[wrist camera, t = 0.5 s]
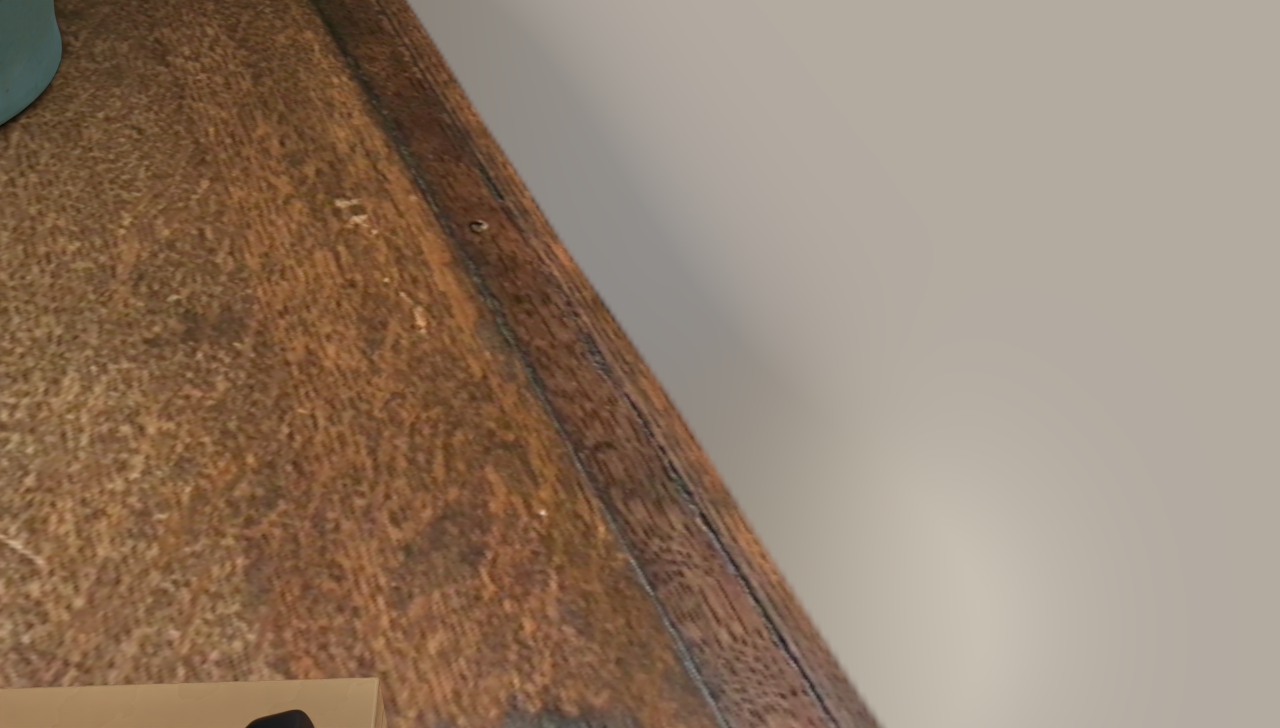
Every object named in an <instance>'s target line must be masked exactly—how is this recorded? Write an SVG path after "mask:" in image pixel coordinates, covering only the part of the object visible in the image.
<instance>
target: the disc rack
mask: <svg viewBox="0 0 1280 728" xmlns="http://www.w3.org/2000/svg"><path fill="white" fill-rule="evenodd" d="M293 709H294V710H297V709H299V710H302V711H303V712H305V713H306V714H307V715H308V717H309V718H310V719H311V721H312V723H313V725H314V727H315V728H387V722H386V717H385V711H384V705H383V699H382V693H381V687H380V682H379V679H378V678H376V677H369V678H336V679H302V680H268V681H234V682H200V683H166V684H133V685H99V686H65V687H31V688H0V728H245V727H246V726H247V725H248V724H249V723H250V722H252V721H253V720H255V719H258V718H260V717H264V716H268V715H273V714H277V713H281V712H285V711H289V710H293Z"/></svg>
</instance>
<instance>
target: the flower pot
mask: <svg viewBox="0 0 1280 728" xmlns="http://www.w3.org/2000/svg"><path fill="white" fill-rule="evenodd" d="M61 54H62V42H61V35H60V32H59V29H58V26H57V22H56V18H55V12H54V0H0V125H1V124H3V123H5V122H6V121H8V120H9V119H11V118H12V117H14V116H15V115H17V114H18V113H20V112H21V111H22V110H23V109H25V108H26V107H27V106H28V105H29V104H31V103H32V102H33V101H34V100H35V99H36V98H37V97H38V96H39V95H40V94H41V93H42V92H43V91H44V89H45V88H46V87H47V86H48V85H49V83H50V82H51V80H52V79H53V77H54V75H55V74H56V71H57V69H58V66H59V63H60V60H61Z"/></svg>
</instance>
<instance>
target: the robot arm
mask: <svg viewBox="0 0 1280 728" xmlns="http://www.w3.org/2000/svg"><path fill="white" fill-rule="evenodd" d="M245 728H315V727H314V725H313V723H312V721H311V719H310V718H309V717H308V715H307V714H306V713H305V712H303V711H302V710H299V709H297V710H294V709H293V710H289V711H285V712H281V713H277V714H273V715H268V716H264V717H260V718H258V719H255V720H253V721H252V722H250V723H249V724H248V725H247V726H246V727H245Z"/></svg>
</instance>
